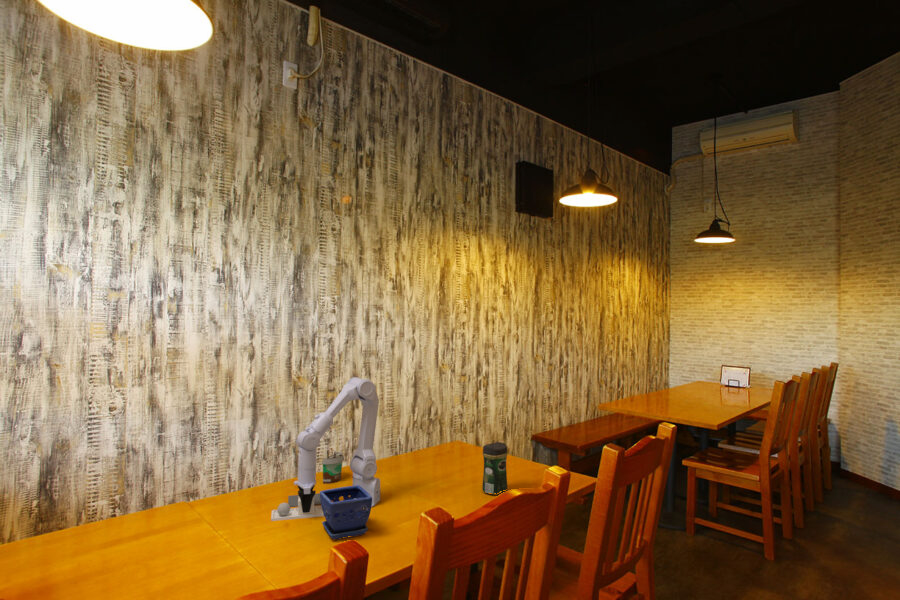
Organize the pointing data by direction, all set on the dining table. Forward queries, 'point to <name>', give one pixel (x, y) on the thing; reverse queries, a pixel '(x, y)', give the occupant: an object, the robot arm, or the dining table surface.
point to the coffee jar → (495, 468)
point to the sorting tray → (296, 514)
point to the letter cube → (301, 508)
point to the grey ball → (283, 509)
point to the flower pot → (345, 511)
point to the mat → (294, 500)
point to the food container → (332, 468)
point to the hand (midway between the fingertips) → (305, 509)
